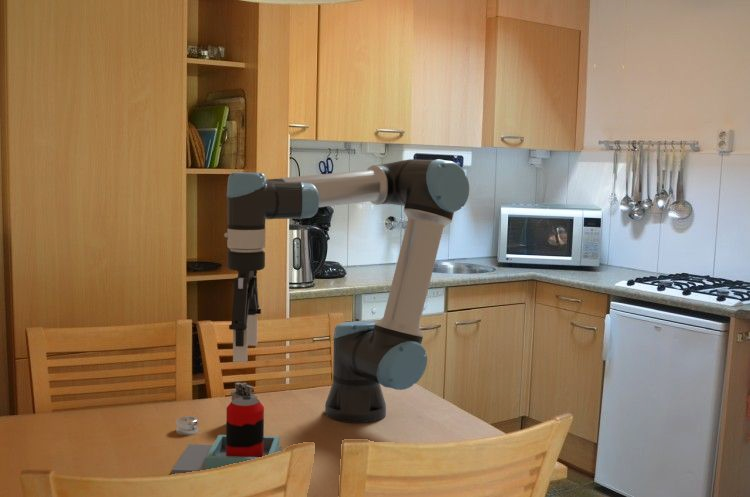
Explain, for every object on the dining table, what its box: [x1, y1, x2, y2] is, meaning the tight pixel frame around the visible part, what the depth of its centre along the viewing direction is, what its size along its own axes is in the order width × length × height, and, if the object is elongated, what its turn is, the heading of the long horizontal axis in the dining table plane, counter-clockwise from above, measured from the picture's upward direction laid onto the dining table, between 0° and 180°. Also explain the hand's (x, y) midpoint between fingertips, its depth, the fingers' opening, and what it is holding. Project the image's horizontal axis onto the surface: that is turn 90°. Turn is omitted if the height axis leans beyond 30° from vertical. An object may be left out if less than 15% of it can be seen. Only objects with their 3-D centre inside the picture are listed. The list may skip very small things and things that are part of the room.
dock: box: [171, 434, 283, 475], centre depth 162 cm, size 20×14×4 cm
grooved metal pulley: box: [175, 415, 200, 436], centre depth 180 cm, size 5×3×5 cm
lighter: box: [230, 382, 258, 401], centre depth 185 cm, size 8×3×10 cm, turn 47°
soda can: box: [225, 397, 265, 457], centre depth 162 cm, size 8×8×12 cm
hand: (245, 353), depth 161 cm, fingers open, 13 cm apart
